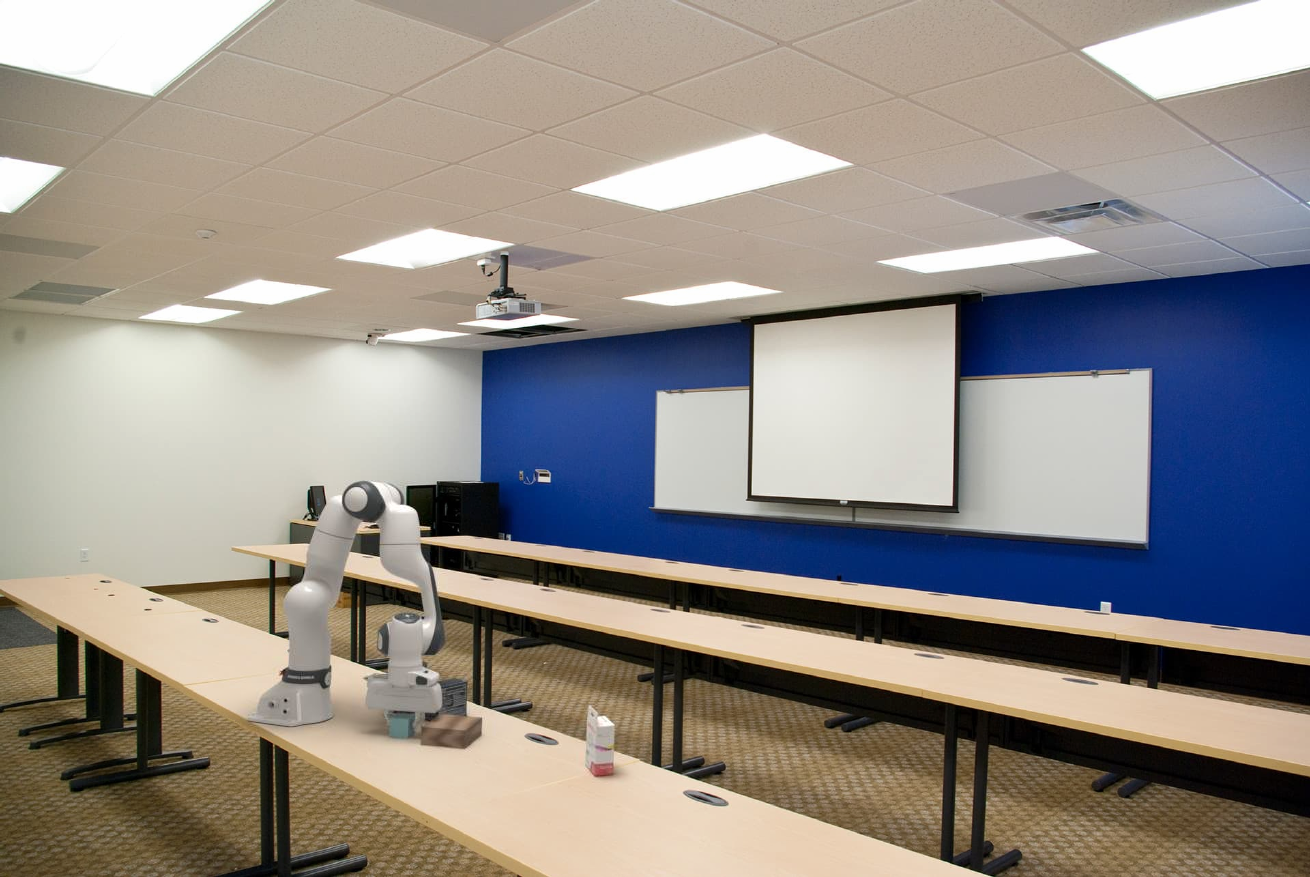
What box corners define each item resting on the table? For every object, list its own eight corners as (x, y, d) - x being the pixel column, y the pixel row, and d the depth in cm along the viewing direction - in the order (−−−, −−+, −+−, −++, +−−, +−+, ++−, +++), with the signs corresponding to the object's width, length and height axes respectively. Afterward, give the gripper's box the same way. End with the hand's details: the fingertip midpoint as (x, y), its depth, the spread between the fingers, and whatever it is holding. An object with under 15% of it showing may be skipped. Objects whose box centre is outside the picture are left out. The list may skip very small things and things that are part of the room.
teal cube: (389, 737, 226) (390, 718, 226) (396, 731, 231) (397, 713, 231) (407, 738, 225) (408, 719, 226) (414, 733, 230) (415, 714, 231)
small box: (453, 712, 251) (455, 676, 251) (467, 717, 247) (469, 680, 247) (423, 720, 242) (424, 682, 243) (437, 725, 238) (438, 687, 239)
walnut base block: (420, 746, 221) (421, 726, 221) (439, 732, 233) (440, 713, 233) (464, 750, 219) (465, 730, 219) (481, 736, 231) (482, 717, 231)
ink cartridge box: (614, 774, 204) (616, 712, 204) (594, 776, 202) (596, 714, 203) (603, 763, 212) (605, 703, 212) (584, 764, 210) (586, 704, 211)
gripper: (362, 675, 227) (360, 728, 226) (437, 680, 225) (434, 733, 224) (372, 670, 233) (370, 721, 232) (445, 674, 231) (443, 726, 230)
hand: (402, 727), depth 228 cm, fingers closed on teal cube, 5 cm apart
